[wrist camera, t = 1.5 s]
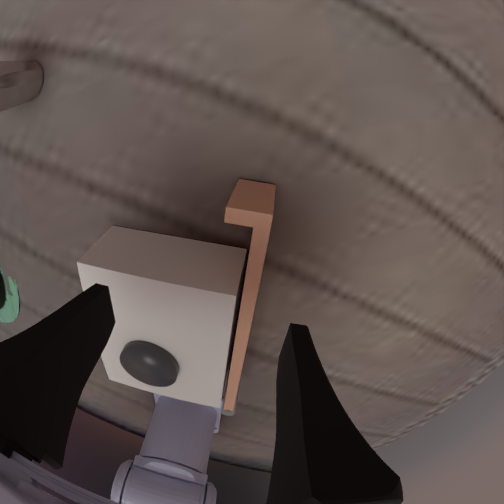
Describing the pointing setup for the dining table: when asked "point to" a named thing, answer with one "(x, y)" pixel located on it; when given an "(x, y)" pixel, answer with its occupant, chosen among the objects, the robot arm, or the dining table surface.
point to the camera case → (167, 311)
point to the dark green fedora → (8, 300)
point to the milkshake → (19, 82)
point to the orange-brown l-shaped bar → (248, 269)
